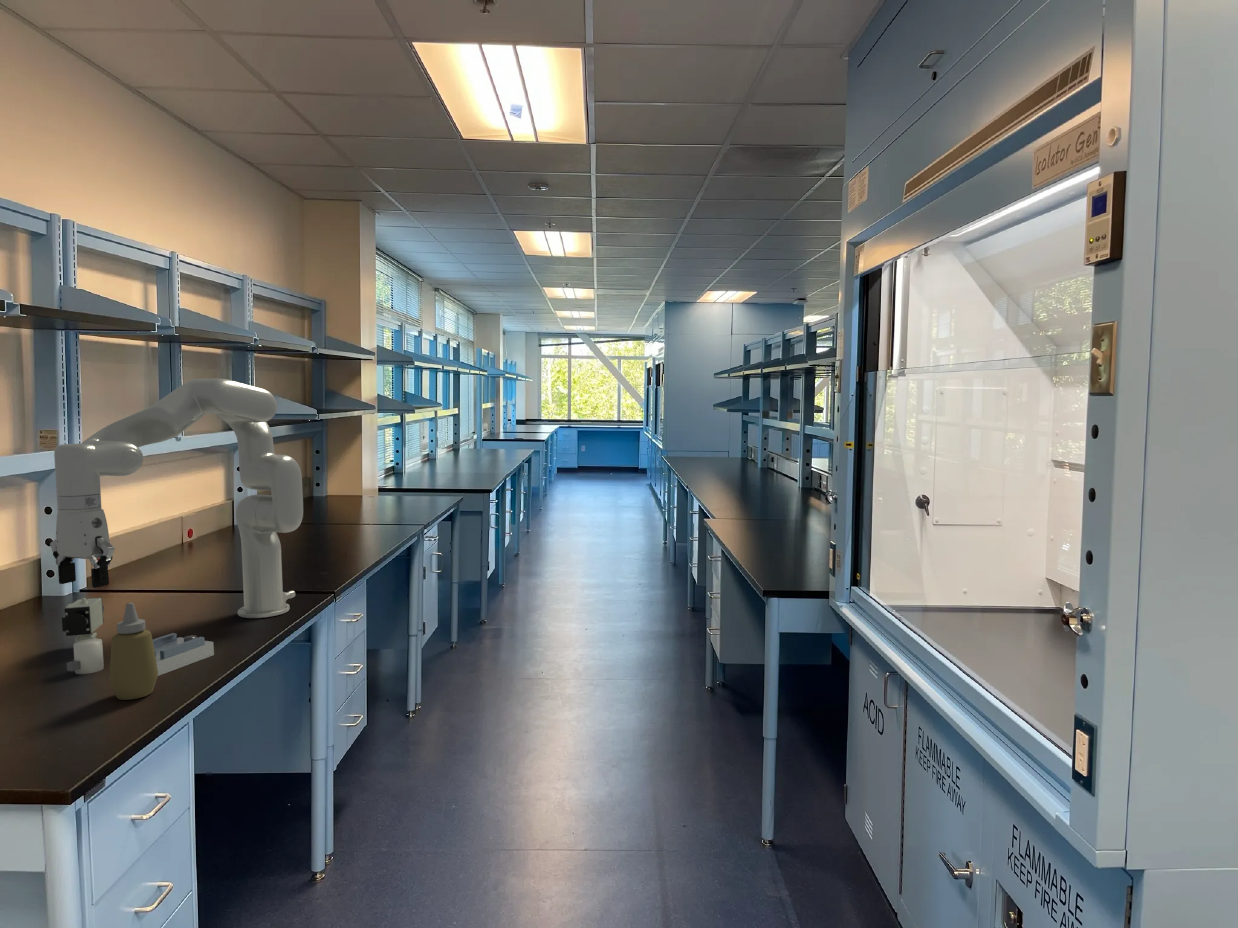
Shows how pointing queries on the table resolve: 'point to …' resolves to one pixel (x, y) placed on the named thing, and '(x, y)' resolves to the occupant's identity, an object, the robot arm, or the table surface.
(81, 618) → the pneumatic valve
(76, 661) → the white rounded cylinder
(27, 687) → the table surface
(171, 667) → the grey fixture tray
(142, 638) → the squeeze bottle
